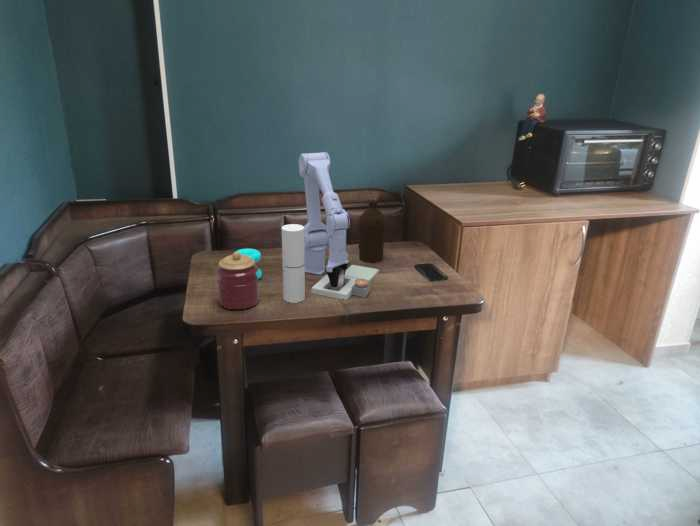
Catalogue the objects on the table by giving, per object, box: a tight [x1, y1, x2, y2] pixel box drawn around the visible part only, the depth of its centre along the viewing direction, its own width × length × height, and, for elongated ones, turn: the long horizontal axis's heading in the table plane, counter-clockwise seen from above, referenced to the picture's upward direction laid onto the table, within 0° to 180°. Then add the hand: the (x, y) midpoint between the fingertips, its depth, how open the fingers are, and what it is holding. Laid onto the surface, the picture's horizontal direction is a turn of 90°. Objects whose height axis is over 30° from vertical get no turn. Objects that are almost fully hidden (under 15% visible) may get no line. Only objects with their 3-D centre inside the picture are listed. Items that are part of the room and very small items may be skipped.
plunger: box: [355, 279, 369, 288], centre depth 182 cm, size 4×4×4 cm
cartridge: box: [330, 267, 344, 291], centre depth 184 cm, size 5×5×7 cm
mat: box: [344, 264, 380, 284], centre depth 197 cm, size 11×11×1 cm
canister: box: [216, 251, 260, 310], centre depth 171 cm, size 13×13×18 cm
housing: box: [310, 274, 371, 301], centre depth 184 cm, size 18×14×3 cm
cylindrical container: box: [281, 223, 306, 304], centre depth 173 cm, size 7×7×25 cm
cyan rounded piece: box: [235, 248, 263, 280], centre depth 191 cm, size 10×10×10 cm
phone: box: [413, 262, 449, 283], centre depth 201 cm, size 8×1×15 cm
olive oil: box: [358, 196, 387, 264], centre depth 208 cm, size 11×11×25 cm
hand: (337, 283), depth 185 cm, fingers closed on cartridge, 5 cm apart
